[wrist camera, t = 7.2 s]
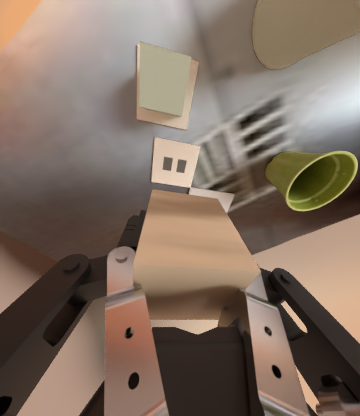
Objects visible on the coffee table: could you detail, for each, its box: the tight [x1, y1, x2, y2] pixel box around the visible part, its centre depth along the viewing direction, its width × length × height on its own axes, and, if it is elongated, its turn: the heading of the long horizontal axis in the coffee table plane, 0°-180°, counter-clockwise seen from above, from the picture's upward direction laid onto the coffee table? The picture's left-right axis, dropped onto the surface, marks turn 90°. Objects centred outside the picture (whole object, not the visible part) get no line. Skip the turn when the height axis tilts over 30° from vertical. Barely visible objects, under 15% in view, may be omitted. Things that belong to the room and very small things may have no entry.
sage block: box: [139, 41, 191, 117], centre depth 17 cm, size 5×5×6 cm
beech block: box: [133, 189, 261, 320], centre depth 9 cm, size 5×5×6 cm
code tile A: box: [151, 137, 201, 188], centre depth 25 cm, size 8×8×1 cm
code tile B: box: [136, 43, 199, 130], centre depth 20 cm, size 8×8×1 cm
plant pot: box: [265, 151, 358, 211], centre depth 23 cm, size 9×9×9 cm
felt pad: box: [189, 187, 235, 213], centre depth 31 cm, size 10×10×1 cm
